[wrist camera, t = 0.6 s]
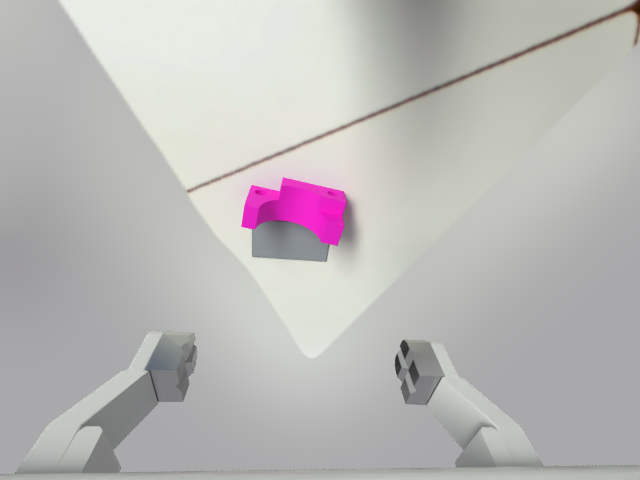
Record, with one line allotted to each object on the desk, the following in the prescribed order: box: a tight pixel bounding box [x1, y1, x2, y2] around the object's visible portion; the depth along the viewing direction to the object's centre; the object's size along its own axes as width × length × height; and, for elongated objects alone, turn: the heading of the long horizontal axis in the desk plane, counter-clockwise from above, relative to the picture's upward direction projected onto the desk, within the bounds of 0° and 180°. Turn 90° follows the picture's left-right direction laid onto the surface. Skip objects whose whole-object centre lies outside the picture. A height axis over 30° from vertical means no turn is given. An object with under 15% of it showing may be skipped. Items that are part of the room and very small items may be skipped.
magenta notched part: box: [242, 178, 347, 245], centre depth 47 cm, size 15×6×8 cm, turn 75°
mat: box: [252, 220, 329, 261], centre depth 55 cm, size 8×14×1 cm, turn 83°
